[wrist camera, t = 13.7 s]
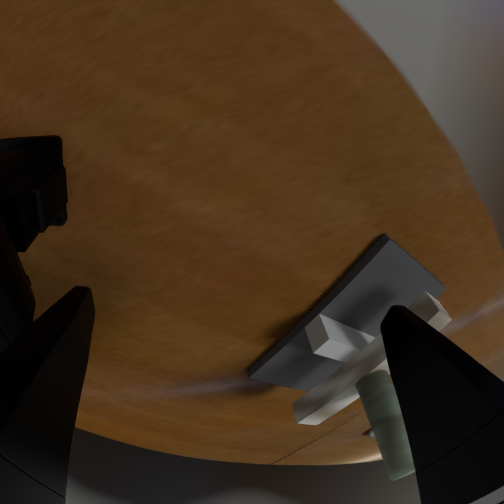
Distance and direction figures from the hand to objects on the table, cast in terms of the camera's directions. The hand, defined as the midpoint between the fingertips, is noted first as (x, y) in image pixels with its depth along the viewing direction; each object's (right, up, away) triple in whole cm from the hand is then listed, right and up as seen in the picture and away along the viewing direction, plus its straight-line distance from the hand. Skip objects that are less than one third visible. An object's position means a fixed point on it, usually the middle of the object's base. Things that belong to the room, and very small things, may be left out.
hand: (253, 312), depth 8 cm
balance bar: (+11, -9, +19) cm, 23 cm away
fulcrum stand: (+10, -6, +22) cm, 25 cm away
